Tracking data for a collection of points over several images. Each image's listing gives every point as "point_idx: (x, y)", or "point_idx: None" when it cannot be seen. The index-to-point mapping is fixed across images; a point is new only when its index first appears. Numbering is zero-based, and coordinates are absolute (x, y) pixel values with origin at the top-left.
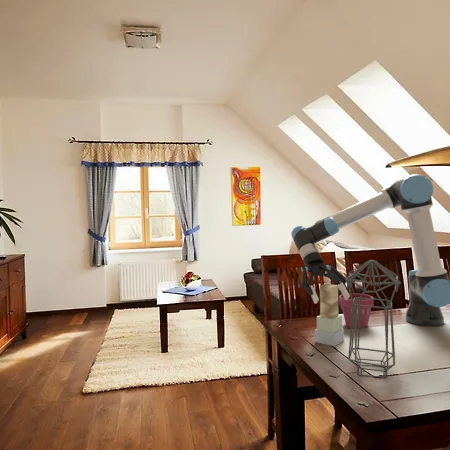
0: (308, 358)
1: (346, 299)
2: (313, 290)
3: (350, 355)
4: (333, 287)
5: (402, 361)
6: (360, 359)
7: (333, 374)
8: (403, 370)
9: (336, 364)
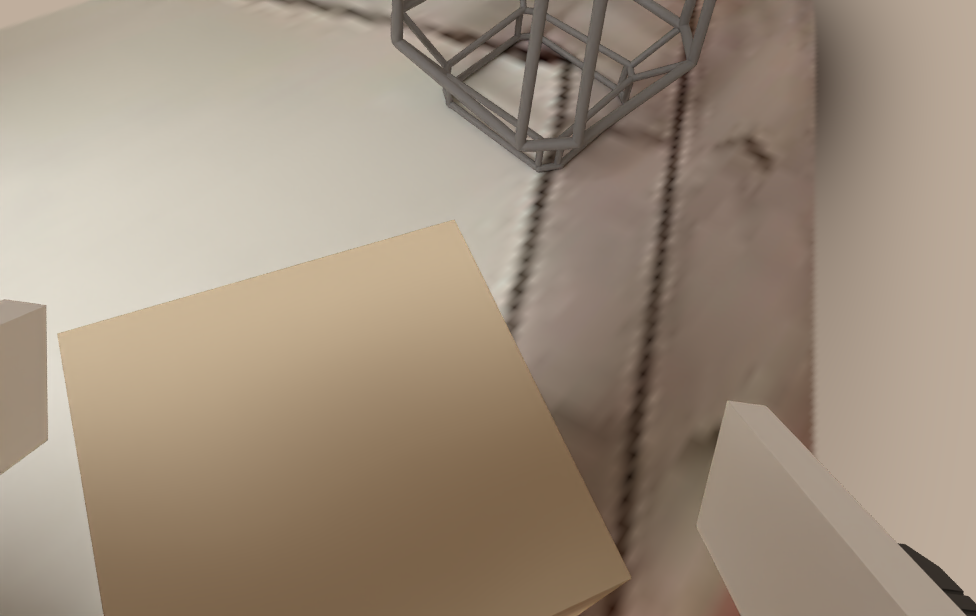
0: (777, 398)
1: (35, 414)
2: (867, 526)
3: (660, 79)
4: (354, 264)
5: (273, 99)
6: (542, 138)
7: (741, 163)
8: (380, 41)
9: (652, 241)
